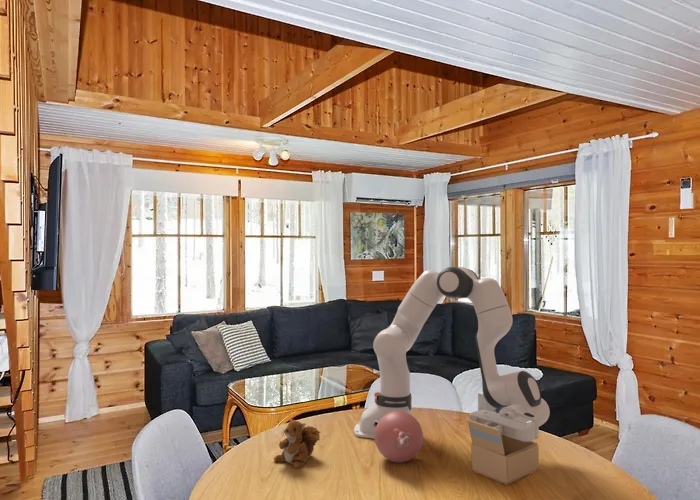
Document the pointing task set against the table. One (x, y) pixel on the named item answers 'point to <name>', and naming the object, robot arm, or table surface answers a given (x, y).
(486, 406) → the skincare box
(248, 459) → the table surface
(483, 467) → the carton
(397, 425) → the balloon
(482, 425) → the front flap
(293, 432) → the stuffed squirrel
